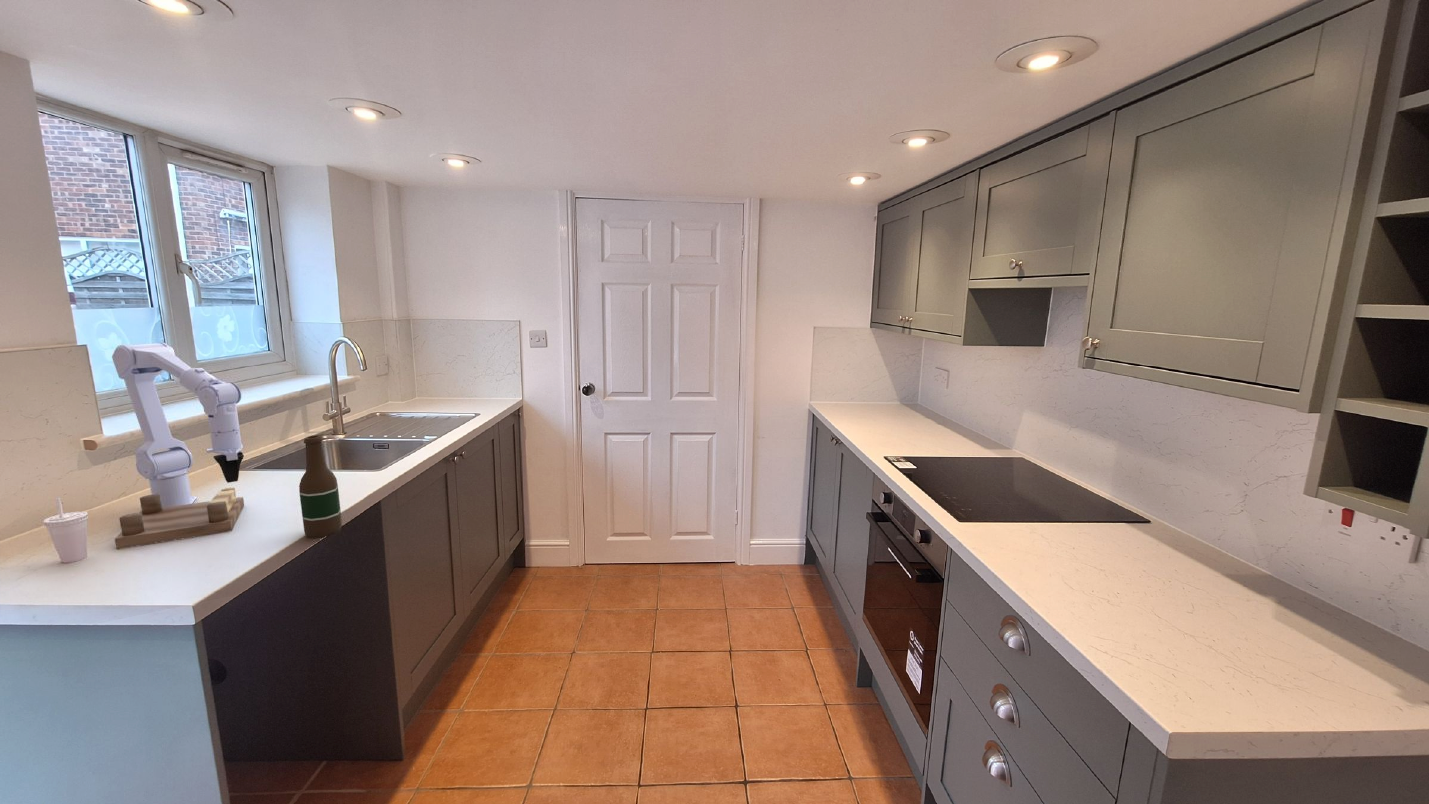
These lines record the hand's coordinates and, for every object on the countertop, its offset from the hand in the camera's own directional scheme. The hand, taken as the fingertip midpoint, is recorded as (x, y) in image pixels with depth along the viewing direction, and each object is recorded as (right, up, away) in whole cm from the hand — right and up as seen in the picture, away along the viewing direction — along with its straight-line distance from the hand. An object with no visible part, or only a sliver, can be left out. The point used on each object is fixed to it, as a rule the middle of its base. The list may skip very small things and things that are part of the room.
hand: (232, 481), depth 145 cm
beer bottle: (+29, -12, -8) cm, 32 cm away
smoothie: (-14, -14, -23) cm, 31 cm away
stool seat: (-7, -10, -5) cm, 13 cm away
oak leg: (-2, -7, +1) cm, 7 cm away
